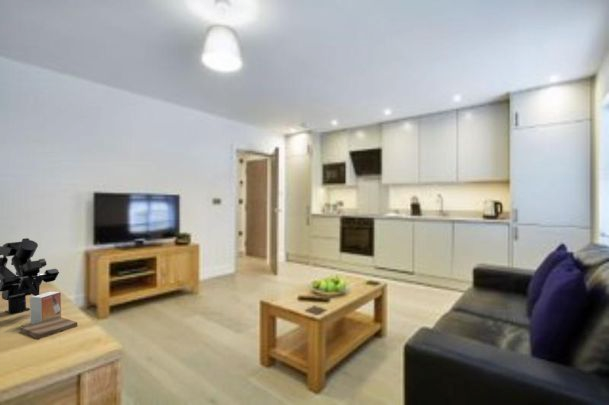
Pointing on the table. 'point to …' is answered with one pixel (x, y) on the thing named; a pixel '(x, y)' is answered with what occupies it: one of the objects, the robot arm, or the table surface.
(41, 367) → the table surface
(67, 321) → the floor panel
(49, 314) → the small box
